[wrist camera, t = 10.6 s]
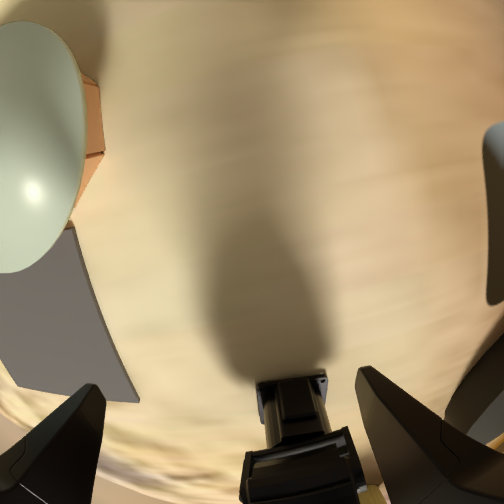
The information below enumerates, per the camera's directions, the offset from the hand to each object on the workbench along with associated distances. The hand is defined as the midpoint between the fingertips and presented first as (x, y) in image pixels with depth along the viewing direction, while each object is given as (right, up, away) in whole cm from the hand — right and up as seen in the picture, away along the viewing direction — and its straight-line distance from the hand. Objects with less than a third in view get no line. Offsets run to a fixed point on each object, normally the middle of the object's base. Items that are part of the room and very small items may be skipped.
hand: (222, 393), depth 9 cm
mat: (-20, -3, +13) cm, 24 cm away
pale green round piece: (-14, +10, +2) cm, 18 cm away
